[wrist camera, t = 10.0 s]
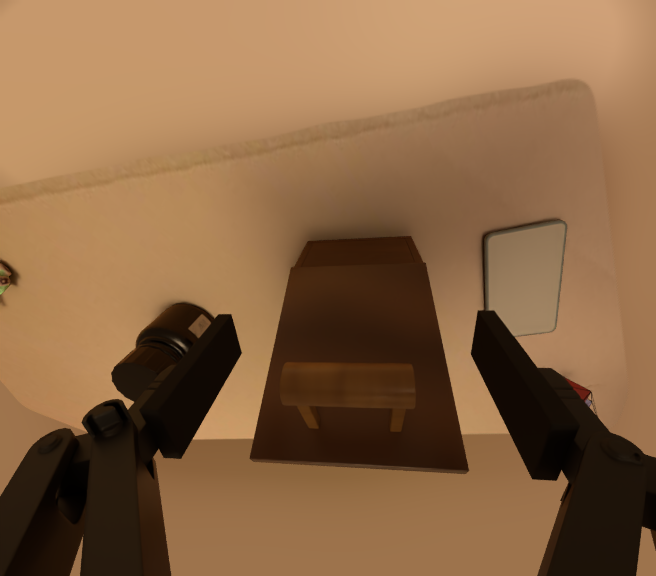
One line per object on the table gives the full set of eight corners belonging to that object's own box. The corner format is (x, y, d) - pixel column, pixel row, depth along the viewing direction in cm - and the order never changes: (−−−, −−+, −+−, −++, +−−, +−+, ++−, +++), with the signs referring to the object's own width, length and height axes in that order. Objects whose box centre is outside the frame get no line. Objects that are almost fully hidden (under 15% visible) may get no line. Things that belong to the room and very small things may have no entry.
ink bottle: (214, 359, 48) (171, 422, 37) (161, 340, 47) (102, 399, 37) (225, 312, 43) (179, 368, 33) (167, 291, 43) (101, 341, 32)
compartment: (406, 341, 42) (416, 387, 34) (320, 341, 44) (310, 385, 36) (411, 235, 35) (424, 263, 28) (307, 241, 37) (292, 268, 29)
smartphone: (487, 341, 40) (485, 235, 33) (484, 336, 40) (482, 232, 34) (556, 332, 38) (569, 219, 31) (552, 328, 39) (564, 216, 32)
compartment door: (466, 474, 17) (514, 434, 11) (253, 461, 18) (196, 421, 13) (424, 268, 27) (437, 193, 22) (292, 273, 29) (271, 204, 23)
